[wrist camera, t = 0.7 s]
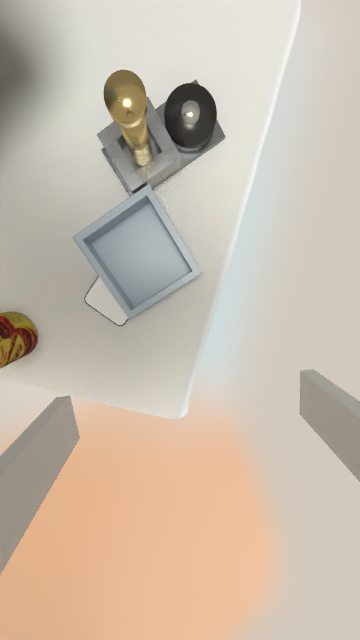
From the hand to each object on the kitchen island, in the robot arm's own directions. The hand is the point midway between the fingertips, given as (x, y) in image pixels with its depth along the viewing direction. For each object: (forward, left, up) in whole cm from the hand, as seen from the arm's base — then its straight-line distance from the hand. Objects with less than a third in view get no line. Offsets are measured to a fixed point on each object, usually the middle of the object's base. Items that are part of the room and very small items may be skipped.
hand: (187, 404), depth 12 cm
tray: (-12, 0, -25) cm, 28 cm away
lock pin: (-23, +8, -24) cm, 34 cm away
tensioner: (-23, +12, -25) cm, 36 cm away
